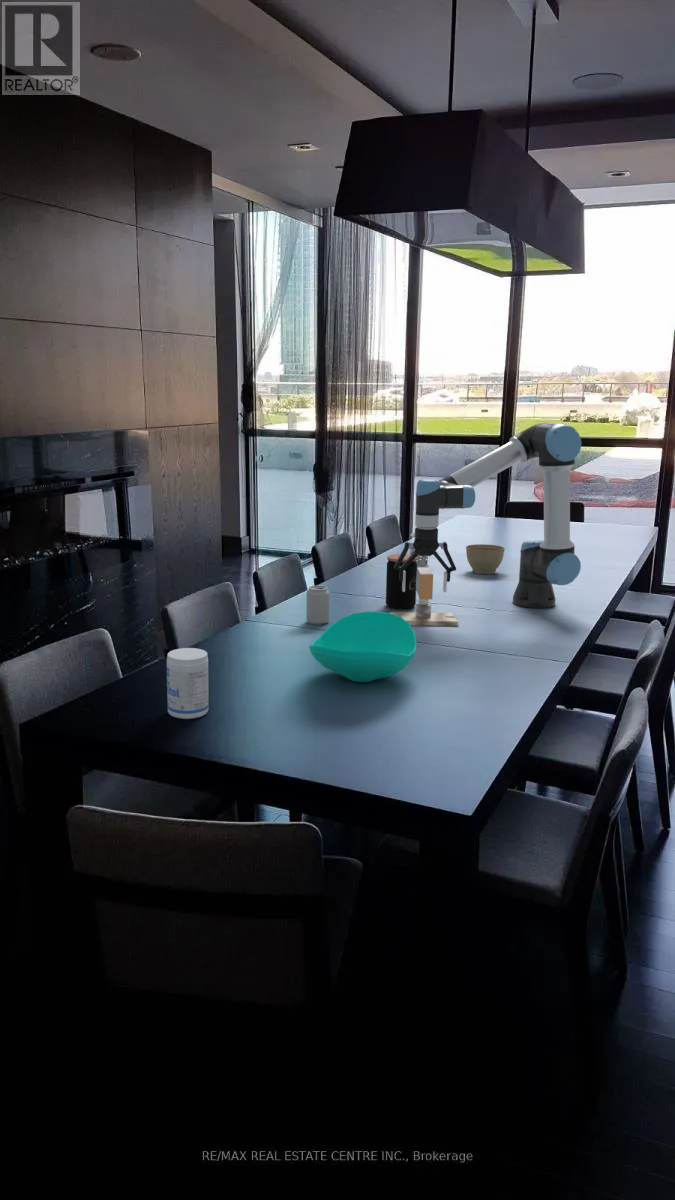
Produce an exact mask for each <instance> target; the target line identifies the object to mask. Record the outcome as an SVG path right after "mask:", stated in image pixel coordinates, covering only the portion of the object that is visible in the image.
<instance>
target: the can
mask: <svg viewBox="0 0 675 1200" xmlns="http://www.w3.org/2000/svg"><path fill="white" fill-rule="evenodd" d="M305 619H306V622H307V623H308V624H310V625H313V624H315V625H314V626H322V624H323V625H326V624H327V623H328V622H330V591H329V589H328V587H327V586H326V585H311V586H308V589H307V590H306V618H305Z"/></svg>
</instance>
